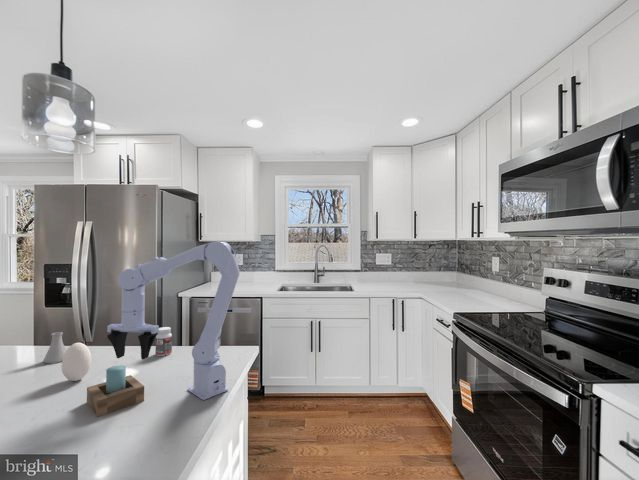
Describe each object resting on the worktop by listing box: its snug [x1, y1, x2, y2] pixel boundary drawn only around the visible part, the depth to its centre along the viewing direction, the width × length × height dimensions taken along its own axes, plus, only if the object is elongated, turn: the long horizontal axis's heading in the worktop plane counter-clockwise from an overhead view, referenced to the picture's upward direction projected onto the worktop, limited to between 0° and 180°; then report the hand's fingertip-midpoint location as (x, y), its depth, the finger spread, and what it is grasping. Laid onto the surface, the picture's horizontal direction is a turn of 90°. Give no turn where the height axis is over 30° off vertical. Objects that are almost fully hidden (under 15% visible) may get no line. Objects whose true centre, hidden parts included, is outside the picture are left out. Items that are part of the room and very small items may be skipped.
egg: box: [61, 342, 92, 382], centre depth 97 cm, size 7×7×12 cm
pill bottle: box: [155, 326, 173, 357], centre depth 120 cm, size 6×6×10 cm
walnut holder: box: [86, 374, 145, 418], centre depth 84 cm, size 11×11×4 cm
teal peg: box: [105, 364, 127, 395], centre depth 84 cm, size 4×4×9 cm
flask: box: [42, 331, 67, 364], centre depth 113 cm, size 7×7×10 cm
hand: (132, 357), depth 89 cm, fingers open, 7 cm apart
